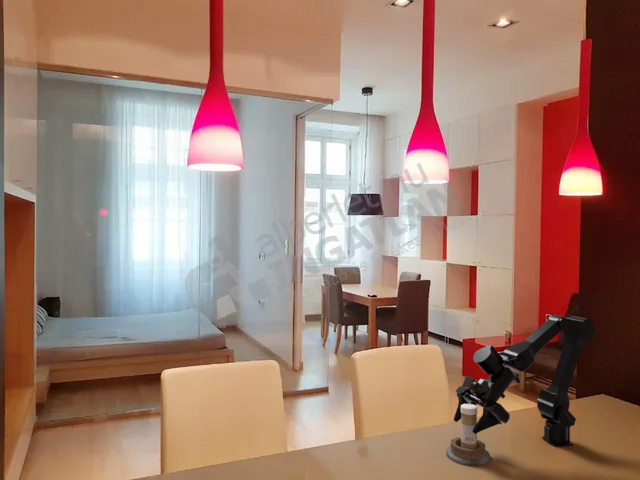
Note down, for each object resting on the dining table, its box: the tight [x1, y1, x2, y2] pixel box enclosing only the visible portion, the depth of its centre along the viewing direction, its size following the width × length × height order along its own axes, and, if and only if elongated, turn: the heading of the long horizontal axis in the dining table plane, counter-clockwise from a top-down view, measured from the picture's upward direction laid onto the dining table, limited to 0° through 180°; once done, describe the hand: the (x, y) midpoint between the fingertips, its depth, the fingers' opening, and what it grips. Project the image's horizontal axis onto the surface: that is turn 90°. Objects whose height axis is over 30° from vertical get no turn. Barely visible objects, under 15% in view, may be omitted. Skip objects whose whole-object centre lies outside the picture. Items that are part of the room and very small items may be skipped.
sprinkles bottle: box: [460, 404, 478, 449], centre depth 146 cm, size 5×5×14 cm
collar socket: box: [445, 436, 491, 466], centre depth 146 cm, size 12×12×4 cm
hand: (463, 426), depth 145 cm, fingers open, 9 cm apart
